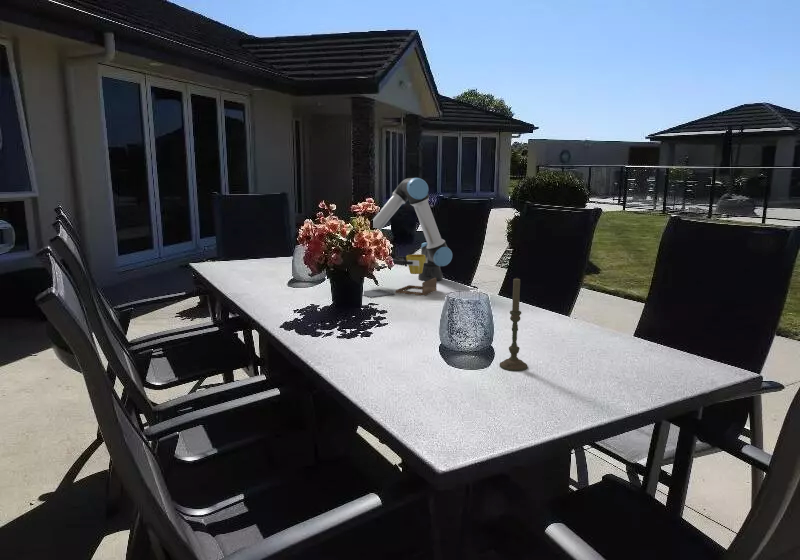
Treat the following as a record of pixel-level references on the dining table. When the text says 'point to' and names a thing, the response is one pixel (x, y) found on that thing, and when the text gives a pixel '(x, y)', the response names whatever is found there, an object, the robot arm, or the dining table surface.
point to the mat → (377, 293)
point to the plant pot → (421, 263)
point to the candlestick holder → (514, 333)
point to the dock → (426, 288)
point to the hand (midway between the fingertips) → (423, 261)
